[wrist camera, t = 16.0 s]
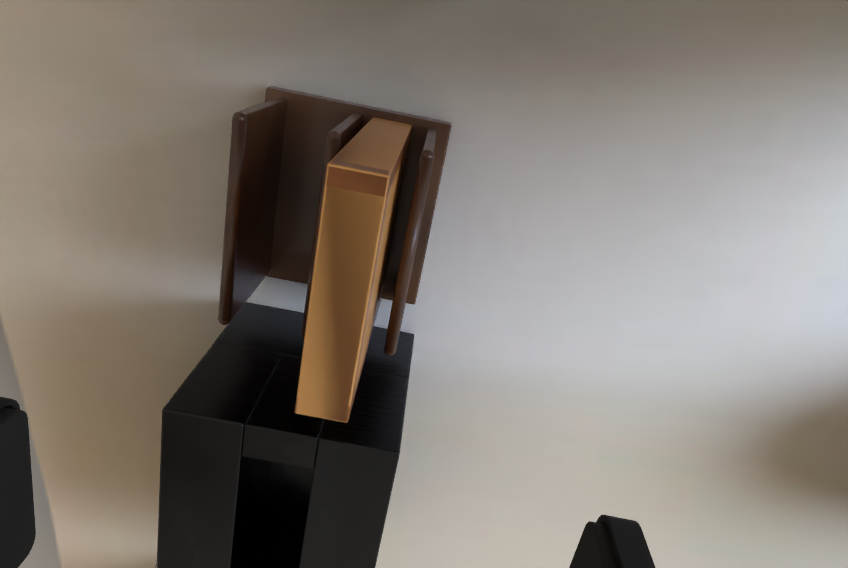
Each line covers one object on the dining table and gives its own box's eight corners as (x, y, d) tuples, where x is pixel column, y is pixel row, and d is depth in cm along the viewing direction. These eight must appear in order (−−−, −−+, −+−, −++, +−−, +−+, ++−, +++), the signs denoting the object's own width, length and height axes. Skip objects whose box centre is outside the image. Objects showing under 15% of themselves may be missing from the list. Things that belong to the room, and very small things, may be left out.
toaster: (227, 298, 32) (136, 404, 23) (414, 333, 32) (399, 452, 23) (212, 493, 37) (131, 646, 28) (375, 522, 37) (350, 683, 28)
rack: (270, 86, 28) (215, 101, 21) (451, 122, 28) (452, 148, 22) (254, 267, 31) (202, 328, 25) (415, 298, 32) (406, 367, 25)
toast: (372, 116, 27) (326, 163, 17) (412, 125, 28) (390, 175, 17) (346, 288, 31) (293, 413, 20) (381, 295, 31) (347, 423, 21)
